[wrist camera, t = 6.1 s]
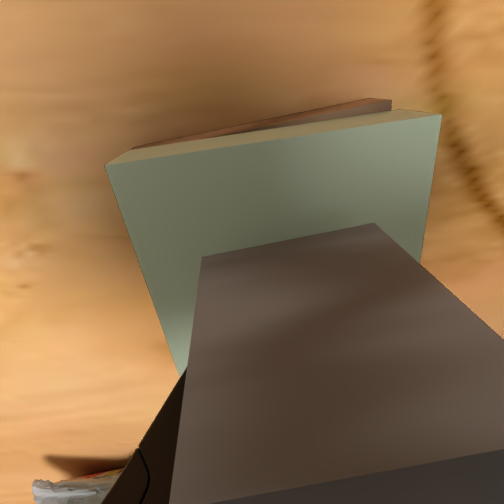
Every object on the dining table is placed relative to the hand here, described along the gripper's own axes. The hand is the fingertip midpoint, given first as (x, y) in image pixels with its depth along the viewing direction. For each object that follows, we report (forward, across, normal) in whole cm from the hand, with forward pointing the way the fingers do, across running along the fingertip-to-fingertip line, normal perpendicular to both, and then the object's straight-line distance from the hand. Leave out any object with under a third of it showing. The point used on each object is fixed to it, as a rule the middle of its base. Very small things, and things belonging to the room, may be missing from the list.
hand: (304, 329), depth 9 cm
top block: (+5, 0, 0) cm, 5 cm away
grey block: (+1, 0, 0) cm, 1 cm away
